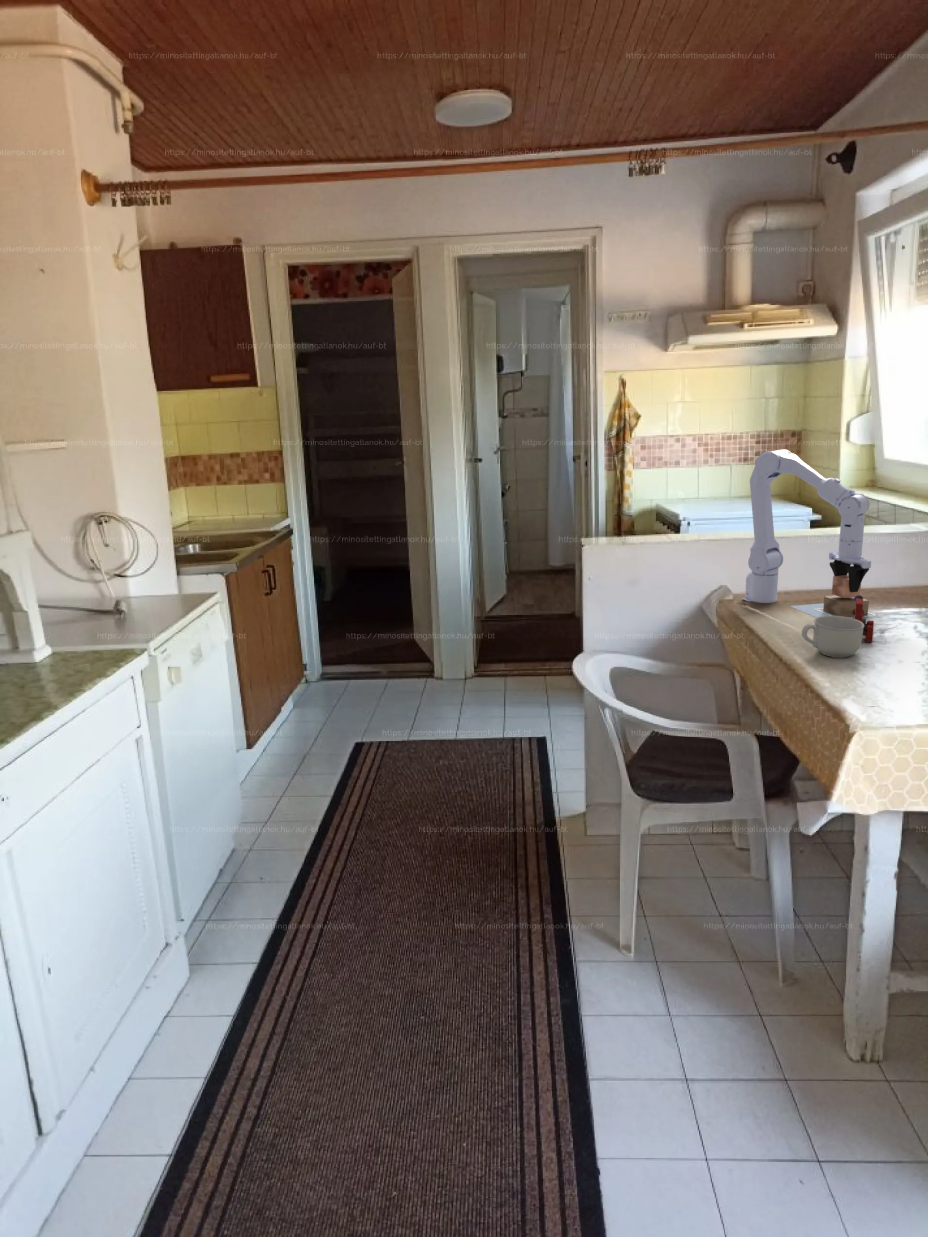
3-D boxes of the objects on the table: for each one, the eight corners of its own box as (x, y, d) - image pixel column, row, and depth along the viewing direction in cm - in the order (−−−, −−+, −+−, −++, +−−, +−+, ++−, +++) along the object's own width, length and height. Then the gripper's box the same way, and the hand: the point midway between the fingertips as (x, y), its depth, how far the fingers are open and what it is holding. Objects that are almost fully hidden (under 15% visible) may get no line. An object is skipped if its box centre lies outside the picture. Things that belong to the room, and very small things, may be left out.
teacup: (852, 647, 202) (855, 615, 200) (868, 660, 192) (871, 627, 190) (792, 647, 204) (794, 615, 201) (805, 661, 193) (807, 627, 191)
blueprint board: (789, 608, 239) (789, 605, 239) (840, 604, 241) (840, 601, 241) (826, 624, 222) (826, 621, 222) (881, 619, 224) (881, 616, 224)
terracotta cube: (831, 594, 230) (833, 576, 229) (847, 592, 231) (849, 574, 230) (843, 598, 226) (845, 579, 224) (859, 596, 227) (861, 578, 225)
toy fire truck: (872, 632, 213) (876, 593, 211) (872, 646, 203) (876, 604, 200) (842, 630, 216) (846, 591, 214) (840, 643, 205) (844, 602, 203)
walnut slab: (823, 610, 233) (824, 596, 232) (849, 608, 234) (850, 594, 233) (840, 617, 225) (841, 602, 224) (867, 614, 227) (868, 600, 226)
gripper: (820, 537, 231) (817, 585, 234) (856, 545, 217) (851, 596, 221) (843, 535, 232) (839, 583, 236) (879, 543, 219) (875, 594, 222)
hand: (847, 589), depth 228 cm, fingers closed on terracotta cube, 5 cm apart
